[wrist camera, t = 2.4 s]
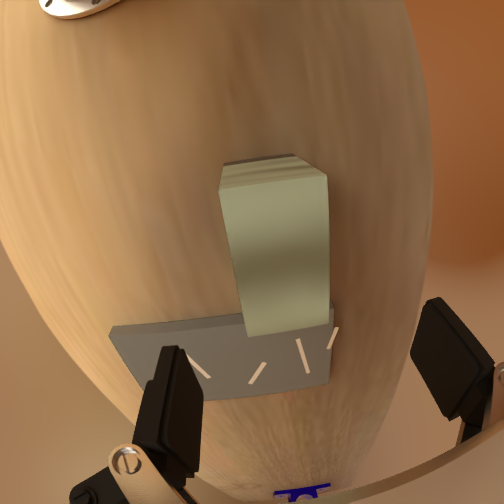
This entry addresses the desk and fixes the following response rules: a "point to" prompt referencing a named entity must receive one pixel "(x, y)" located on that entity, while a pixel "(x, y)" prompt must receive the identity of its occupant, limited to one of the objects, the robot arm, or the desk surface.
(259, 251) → the block
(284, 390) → the board
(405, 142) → the desk surface
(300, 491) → the mounting bracket
